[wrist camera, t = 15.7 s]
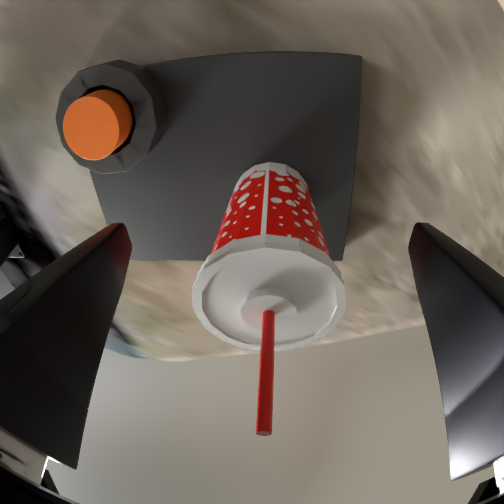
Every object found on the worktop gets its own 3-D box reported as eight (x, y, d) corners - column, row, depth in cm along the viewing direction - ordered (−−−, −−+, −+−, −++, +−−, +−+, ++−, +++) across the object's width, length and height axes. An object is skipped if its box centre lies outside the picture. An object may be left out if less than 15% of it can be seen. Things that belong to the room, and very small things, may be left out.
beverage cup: (228, 237, 21) (190, 449, 10) (215, 153, 17) (127, 382, 7) (319, 235, 21) (346, 451, 10) (322, 148, 17) (393, 384, 6)
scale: (122, 251, 24) (109, 276, 22) (74, 73, 15) (47, 82, 13) (339, 250, 23) (346, 278, 20) (356, 42, 14) (371, 44, 11)
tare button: (86, 152, 16) (71, 164, 15) (73, 97, 14) (56, 105, 12) (138, 144, 16) (125, 156, 14) (127, 83, 13) (112, 89, 12)
